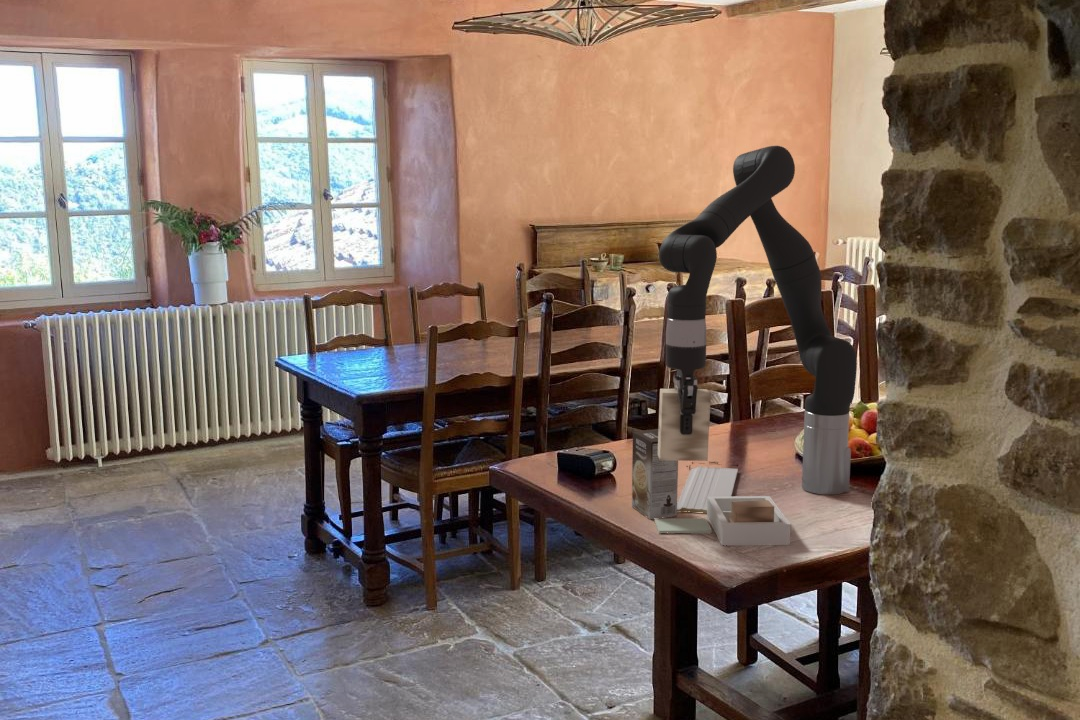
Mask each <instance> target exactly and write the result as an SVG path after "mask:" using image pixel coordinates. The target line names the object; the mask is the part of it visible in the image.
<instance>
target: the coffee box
mask: <svg viewBox="0 0 1080 720" xmlns="http://www.w3.org/2000/svg"><path fill="white" fill-rule="evenodd" d="M658 429H659V428H654V429H646V430H637V431H636V430H635V431H633V432H632V459H631V460H632V465H631V466H632V472H631V473H632V474H631V479H632V480H631V481H632V482H631V483H632V484H631V507H632V508H634V509H635V510H637V511H638V512H639V513H640V512H641V513H640V514H642V515H643V514H644V515H643V516H645V517H646V516H647V517H648V518H647V517H646V518H647V519H649V520H651V519H652V520H655V519H654V518H659V519H663V518H662V517H666V518H671V517H670V516H674V517H677V516H678V512H677V503H678V483H679V482H678V479H679V460H660V459H659V457H658Z"/></svg>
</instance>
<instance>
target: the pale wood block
mask: <svg viewBox="0 0 1080 720" xmlns="http://www.w3.org/2000/svg"><path fill="white" fill-rule="evenodd" d="M711 394H712V393H711V392H710V391H709V390H708V389H707V388H705V389H704V388H698V390H697V397H696V412H695V414H694V415H693V419H692V434H690V435H682V434H681V433H680V413H679V411H680V403H679V402H678V401H677V396H678V393H677V390H675V389H674V388H660V389H659V403H658V404H659V408H658V428H657V429H658V457H659V459H660V460H678V462H679V461H683V462H685V461H686V462H688V461H690V462H691V461H692V462H695V461H696V462H709V461H708V458H709V457H708V456H709V439H710V417H711V416H710V415H711V397H712V395H711ZM681 398H682V394H681ZM685 407H690V403H687V404H685Z"/></svg>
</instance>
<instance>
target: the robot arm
mask: <svg viewBox="0 0 1080 720" xmlns="http://www.w3.org/2000/svg"><path fill="white" fill-rule="evenodd" d="M795 166H796V165H795V160H794V158H793V156H792V154H791V153H790V151H789V150H788V149H787V148H785V147H783V146H781V145H770V146H766V147H761V148H759V149H754V150H751V151H747V152H744V153H741V154H739V155H738V156H737V157H736V158H735V160H734V162H733V166H732V173H733V179H734V182H735V186H734V187H733V188H731V189H730V190H728V191H726V192H724V193H723V194H721V195H720V196H718V197H717V198H715V199H714V200H713V201H712V202H710V204H708V205H707V206H706V207H705V208H704V209H703V210H702V211H701V212H700V214H699V215H697V217H696V218H694V219H693V220H691V221H688V222H686V223H685V224H684V225H682V226H680V227H678V228H675V230H673V231H671V233H669V234H668V235H667V236H666V237H665V238H664V239H663V241H662V243H661V245H660V246H659V249H658V250H659V251H658V259H659V263H660V264H661V266H662V267H663V269H665V270H666V271H669V272H672V273H682V274H689V276H688V279H687V281H686V283H685V284H681V285H677V286H673V287H671V288H670V289H669V291H668V294H667V322H666V328H665V329H666V330H665V366H666V367H668V368H669V369H673V370H676V372H674V373H673V383H674V384H673V385H674V388H673V389H675V390H677V393H678V396H677V401H678V402H679V403H680V411H679V413H680V433H681V434H682V435H690V434H692V419H693V415H694V414H695V412H696V397H697V390H698V389H699V387H698V378H697V377H696V376H695V370H701V369H704V368H705V367H706V364H707V336H708V335H707V322H706V314H707V313H706V312H707V311H706V310H707V309H706V308H707V306H706V305H707V296H708V291H709V287H710V283H711V279H712V276H713V273H714V270H715V267H716V265H717V258H718V253H717V248H719V247H720V246H722V245H723V244H724V243H725V242H726V241H727V240H728V239H729V238H730V236H732V234H733V233H734V232H735V231H736V230H737V229H738V228H739V226H741V225H742V224H743V223H744V222H745V221H746V220H747V219H748V218H751V221H752V223H753V225H754V227H755V229H756V232H757V235H758V237H759V239H760V241H761V245H762V247H763V250H764V253H765V255H766V258H767V261H768V264H769V268H770V270H771V274H772V276H773V278H774V281H775V284H776V286H777V289H778V291H779V294H780V296H781V300H782V302H783V304H784V305H783V306H784V308H785V310H786V313H787V315H788V318H789V320H790V323H791V326H792V330H793V334H794V338H795V342H796V345H797V350H798V354H799V355H798V356H799V359H800V362H801V365H802V366H803V368H804V369H805V370H806V371H807V373H809V374H811V375H812V376H813V377H815V380H814V388H813V393H811V394H809V395H807V396H806V398H805V399H804V400H805V401H804V418H803V419H804V420H803V421H804V422H803V443H802V444H803V445H802V447H803V448H802V449H803V450H802V474H801V475H802V476H801V488H802V489H803V490H804V491H807V492H809V493H813V494H818V495H838V494H840V495H841V494H843V493H849V492H850V476H851V458H852V457H851V456H852V454H851V453H852V450H851V448H850V447H849V431H850V428H849V427H850V412H851V411H850V409H851V404H852V402H853V400H854V397H855V391H856V379H857V370H858V358H857V352H856V350H855V347H854V346H853V345H852V343H850V342H849V341H847V340H846V339H842V338H838V337H836V336H834V335H833V333H832V331H831V330H830V327H829V326H828V323H827V320H826V318H825V315H824V312H823V308H822V290H823V289H822V286H823V285H822V282H823V281H822V273H821V269H820V267H819V264H818V262H817V258H816V255H815V251H814V249H813V247H812V245H811V244H810V242H809V240H807V239H806V238H805V236H804V235H803V234H802V233H800V232H799V230H797V229H796V228H795V227H794V226H793V225H792V224H790V223H789V222H788V220H786V219H785V218H784V217H783V216H782V215H781V213H780V212H779V210H778V208H777V207H776V205H775V204H774V201H773V198H774V197H776V196H777V195H778V194H780V193H781V192H783V190H785V189H786V188H788V187H789V186H790V185H791V183H792V182H793V180H794V178H795V172H796V167H795ZM681 394H682V398H681ZM687 403H690V407H685V404H687Z"/></svg>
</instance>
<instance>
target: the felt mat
mask: <svg viewBox="0 0 1080 720" xmlns="http://www.w3.org/2000/svg"><path fill="white" fill-rule="evenodd" d="M655 523H656V524H655ZM654 524H655V527H656V526H657V527H656V529H658V530H657V531H658V534H659V533H667V532H668V533H691V534H713V533H712V532H713V531H712V527H711V526H710V524H709V523H708V520H707V518H705V517H703V518H701V517H700V518H696V517H695V518H694V517H693V518H689V517H687V518H659V519H654Z"/></svg>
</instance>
